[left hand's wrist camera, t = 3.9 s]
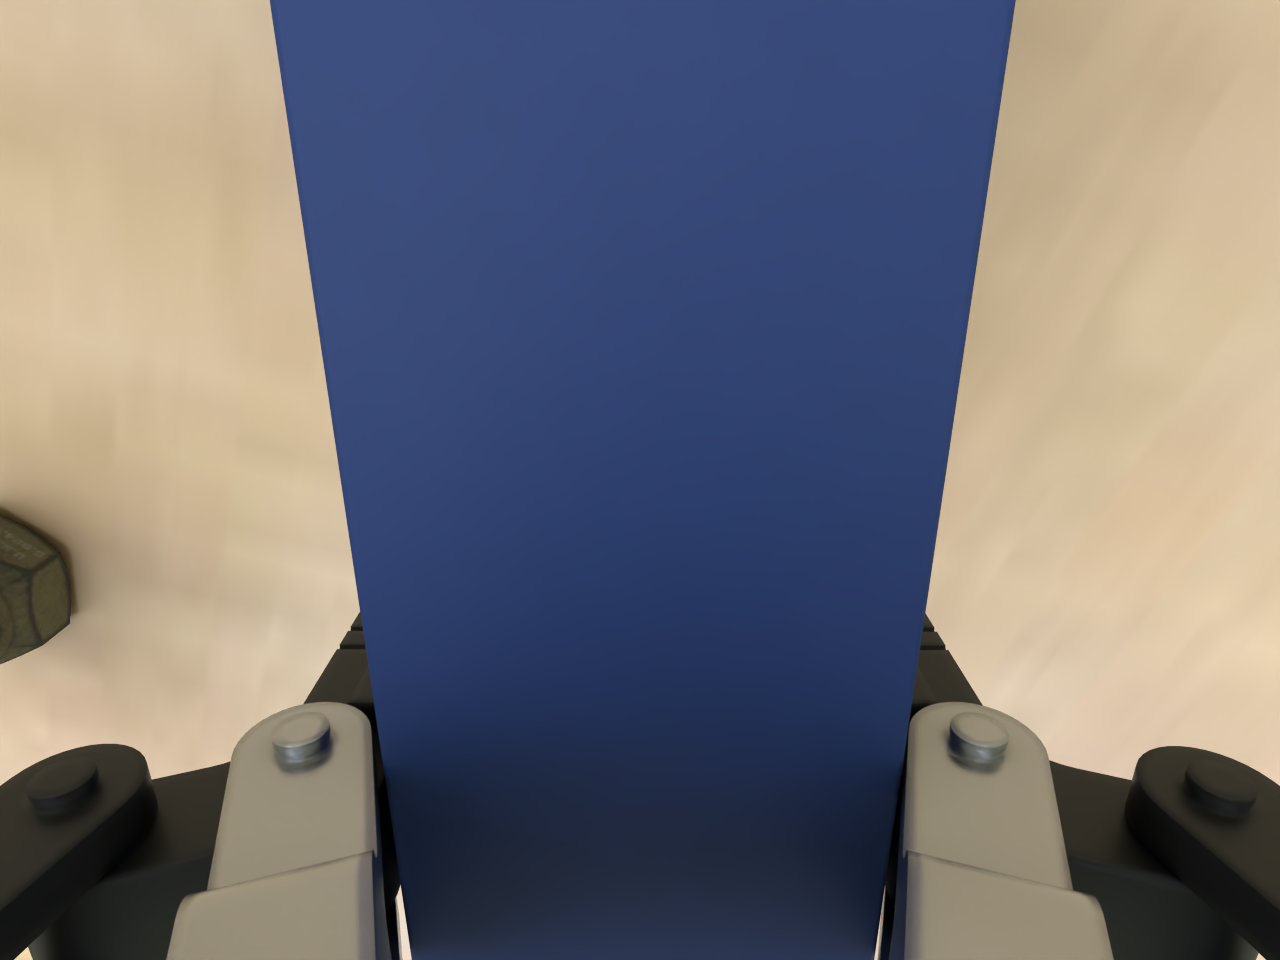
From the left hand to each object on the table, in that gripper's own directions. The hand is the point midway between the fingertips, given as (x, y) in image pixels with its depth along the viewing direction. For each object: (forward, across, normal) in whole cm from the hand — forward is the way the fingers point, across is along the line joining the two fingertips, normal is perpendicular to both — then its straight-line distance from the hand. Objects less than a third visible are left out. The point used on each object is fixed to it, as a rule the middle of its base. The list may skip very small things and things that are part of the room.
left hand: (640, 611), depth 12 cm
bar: (+4, 0, -9) cm, 10 cm away
